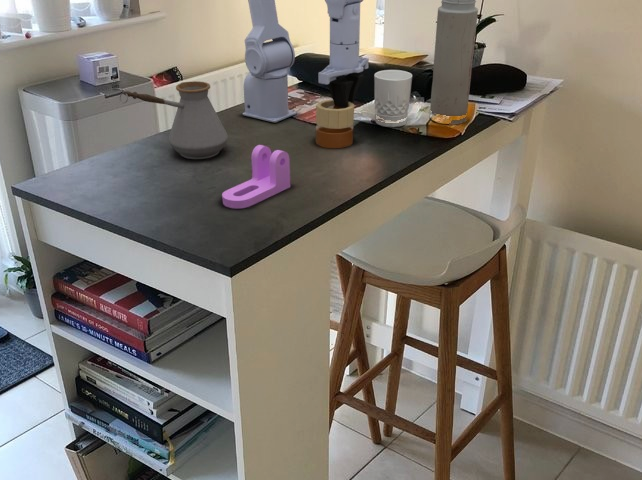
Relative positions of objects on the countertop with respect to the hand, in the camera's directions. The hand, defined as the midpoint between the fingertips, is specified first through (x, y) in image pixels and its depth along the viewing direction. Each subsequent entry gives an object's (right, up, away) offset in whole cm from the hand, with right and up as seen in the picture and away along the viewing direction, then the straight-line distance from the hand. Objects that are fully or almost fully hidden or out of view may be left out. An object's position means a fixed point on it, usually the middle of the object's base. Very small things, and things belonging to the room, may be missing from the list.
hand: (343, 112), depth 152 cm
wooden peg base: (-2, -6, +1) cm, 6 cm away
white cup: (+11, +1, +11) cm, 15 cm away
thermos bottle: (+23, +2, +12) cm, 26 cm away
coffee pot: (-32, -11, -6) cm, 34 cm away
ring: (-2, -2, -1) cm, 3 cm away
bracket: (-16, -21, -21) cm, 34 cm away
